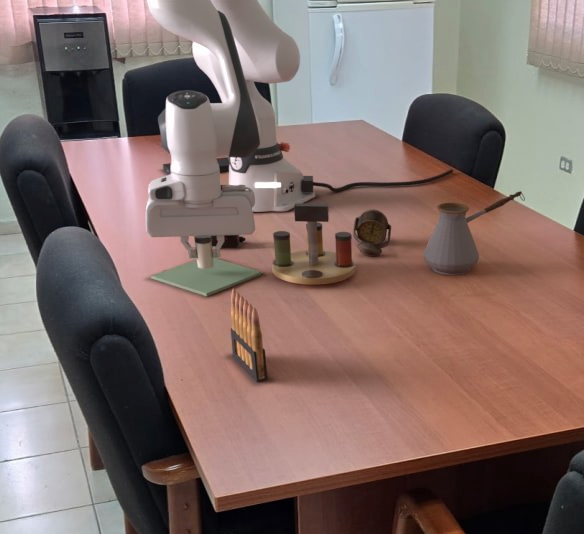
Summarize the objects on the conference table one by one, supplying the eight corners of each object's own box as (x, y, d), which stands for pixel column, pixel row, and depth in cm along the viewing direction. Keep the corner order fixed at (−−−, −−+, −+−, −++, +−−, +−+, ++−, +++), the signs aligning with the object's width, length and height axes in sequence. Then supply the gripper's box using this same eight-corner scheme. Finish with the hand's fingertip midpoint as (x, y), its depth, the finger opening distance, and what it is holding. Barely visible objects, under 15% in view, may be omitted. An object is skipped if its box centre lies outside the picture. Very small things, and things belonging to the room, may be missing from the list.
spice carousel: (255, 269, 188) (250, 203, 181) (317, 250, 199) (314, 188, 192) (310, 291, 179) (307, 223, 172) (372, 270, 190) (371, 205, 183)
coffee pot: (434, 281, 189) (436, 206, 181) (415, 262, 198) (416, 190, 190) (530, 271, 196) (536, 198, 188) (507, 253, 205) (512, 183, 197)
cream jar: (193, 266, 185) (190, 236, 182) (207, 262, 187) (204, 233, 184) (203, 270, 183) (200, 240, 180) (217, 266, 185) (214, 236, 182)
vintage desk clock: (407, 217, 206) (366, 201, 207) (383, 228, 195) (340, 211, 196) (398, 248, 209) (358, 232, 211) (375, 261, 198) (333, 244, 200)
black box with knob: (241, 249, 200) (240, 234, 199) (207, 247, 200) (206, 232, 199) (246, 242, 204) (244, 227, 203) (213, 240, 204) (211, 225, 203)
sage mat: (207, 258, 195) (207, 255, 195) (262, 274, 188) (261, 271, 188) (151, 278, 184) (150, 275, 184) (206, 296, 177) (206, 293, 177)
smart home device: (161, 163, 249) (234, 155, 259) (162, 170, 250) (234, 162, 260) (172, 170, 244) (245, 163, 253) (172, 177, 244) (246, 169, 254)
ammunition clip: (232, 356, 156) (225, 287, 150) (243, 354, 157) (237, 285, 151) (256, 382, 148) (250, 310, 142) (267, 379, 149) (262, 308, 143)
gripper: (253, 180, 181) (258, 250, 189) (141, 181, 177) (151, 253, 185) (254, 189, 176) (259, 260, 184) (139, 191, 172) (149, 264, 179)
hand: (204, 257), depth 184 cm, fingers closed on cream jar, 3 cm apart
